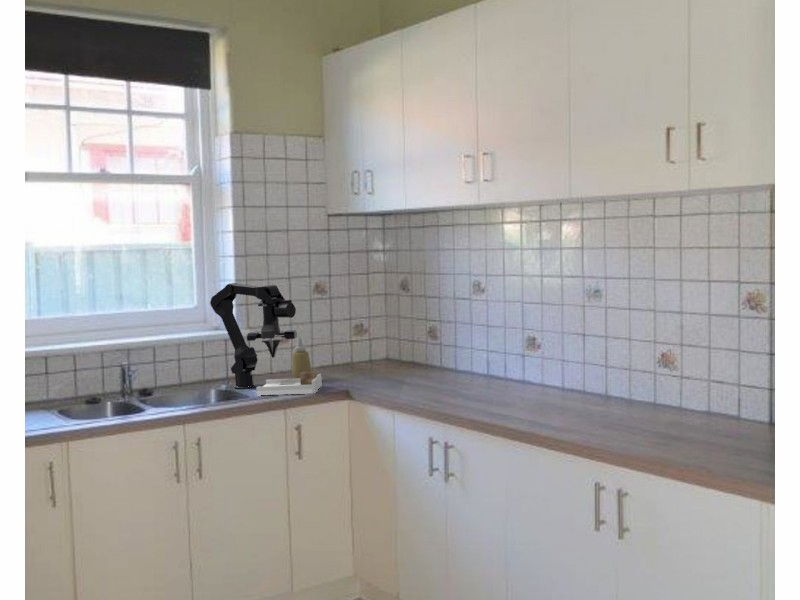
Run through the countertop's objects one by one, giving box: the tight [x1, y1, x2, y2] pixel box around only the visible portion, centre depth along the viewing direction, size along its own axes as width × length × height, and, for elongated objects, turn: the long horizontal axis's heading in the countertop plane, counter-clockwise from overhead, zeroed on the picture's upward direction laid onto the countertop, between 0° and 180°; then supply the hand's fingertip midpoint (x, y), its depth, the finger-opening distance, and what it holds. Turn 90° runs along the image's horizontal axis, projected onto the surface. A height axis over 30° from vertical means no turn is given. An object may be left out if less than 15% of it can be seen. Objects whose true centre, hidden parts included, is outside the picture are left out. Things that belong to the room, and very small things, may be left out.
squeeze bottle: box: [291, 337, 312, 379], centre depth 351 cm, size 8×8×18 cm
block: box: [300, 370, 317, 385], centre depth 331 cm, size 5×5×5 cm
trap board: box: [256, 373, 323, 397], centre depth 332 cm, size 22×16×5 cm
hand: (273, 357), depth 337 cm, fingers closed
